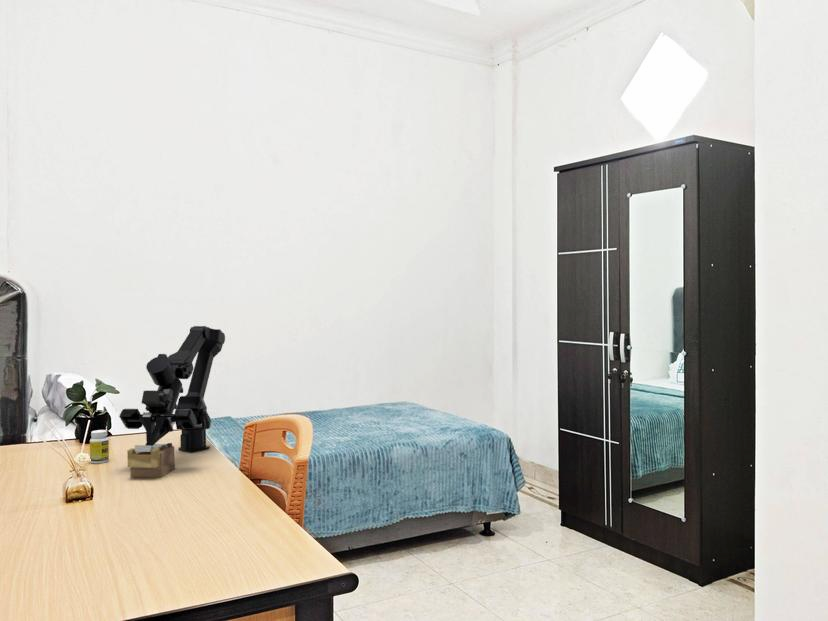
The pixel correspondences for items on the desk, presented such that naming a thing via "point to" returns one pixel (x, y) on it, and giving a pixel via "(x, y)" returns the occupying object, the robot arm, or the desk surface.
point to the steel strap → (148, 447)
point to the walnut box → (151, 462)
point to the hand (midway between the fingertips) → (148, 446)
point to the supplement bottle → (99, 446)
